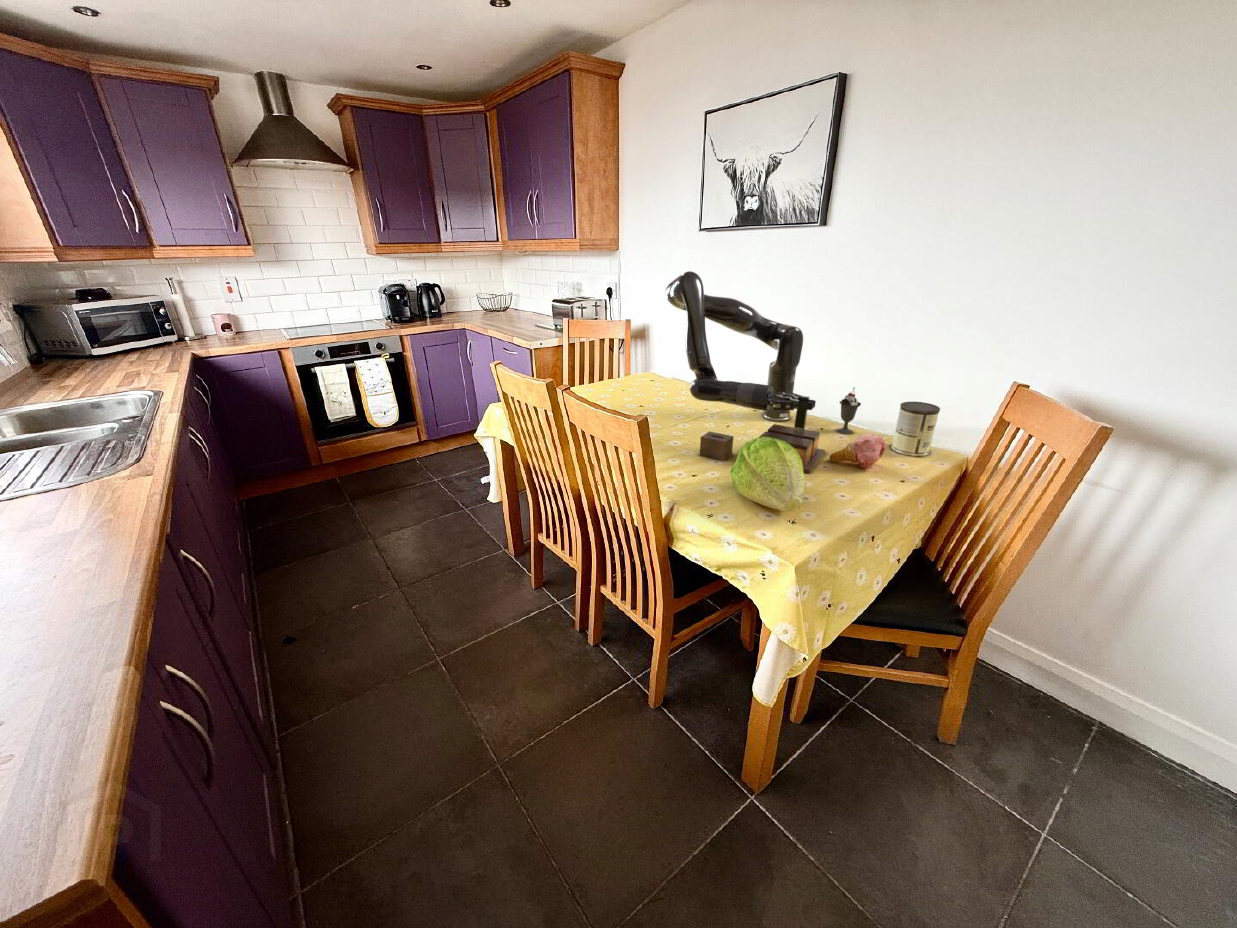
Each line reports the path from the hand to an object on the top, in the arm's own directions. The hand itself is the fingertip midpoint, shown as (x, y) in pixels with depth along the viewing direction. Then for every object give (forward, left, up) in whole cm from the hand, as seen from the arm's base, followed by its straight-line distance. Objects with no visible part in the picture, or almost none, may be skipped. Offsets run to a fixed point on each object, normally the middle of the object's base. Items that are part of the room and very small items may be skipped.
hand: (813, 405), depth 141 cm
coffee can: (+2, +35, -17) cm, 39 cm away
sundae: (-18, +27, -17) cm, 37 cm away
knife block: (-11, -24, -17) cm, 31 cm away
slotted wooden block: (-4, -4, -17) cm, 18 cm away
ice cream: (+8, +11, -17) cm, 22 cm away
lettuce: (+20, -24, -17) cm, 35 cm away
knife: (-2, -2, -15) cm, 15 cm away
